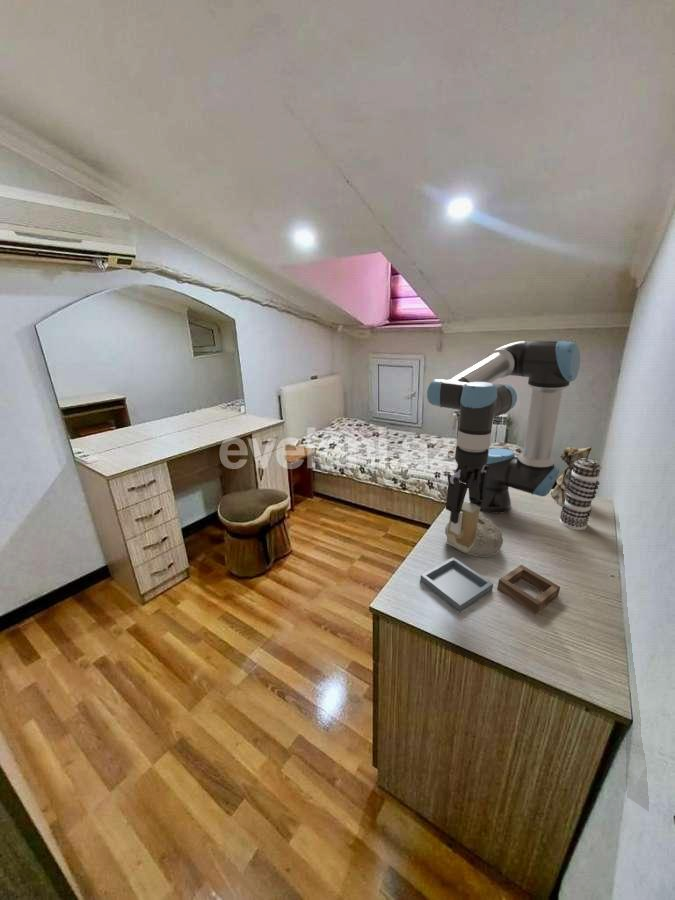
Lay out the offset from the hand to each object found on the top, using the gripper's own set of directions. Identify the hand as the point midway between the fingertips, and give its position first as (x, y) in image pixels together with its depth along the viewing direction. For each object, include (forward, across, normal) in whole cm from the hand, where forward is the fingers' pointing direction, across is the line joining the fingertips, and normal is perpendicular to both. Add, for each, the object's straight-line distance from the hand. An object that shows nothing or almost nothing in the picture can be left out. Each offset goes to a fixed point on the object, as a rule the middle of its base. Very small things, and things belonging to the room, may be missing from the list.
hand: (462, 528), depth 93 cm
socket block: (+19, -14, +13) cm, 27 cm away
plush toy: (+20, -76, -6) cm, 79 cm away
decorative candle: (+20, -61, +3) cm, 64 cm away
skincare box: (+5, 0, 0) cm, 5 cm away
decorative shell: (+20, -19, -9) cm, 29 cm away
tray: (+19, 0, 0) cm, 19 cm away
